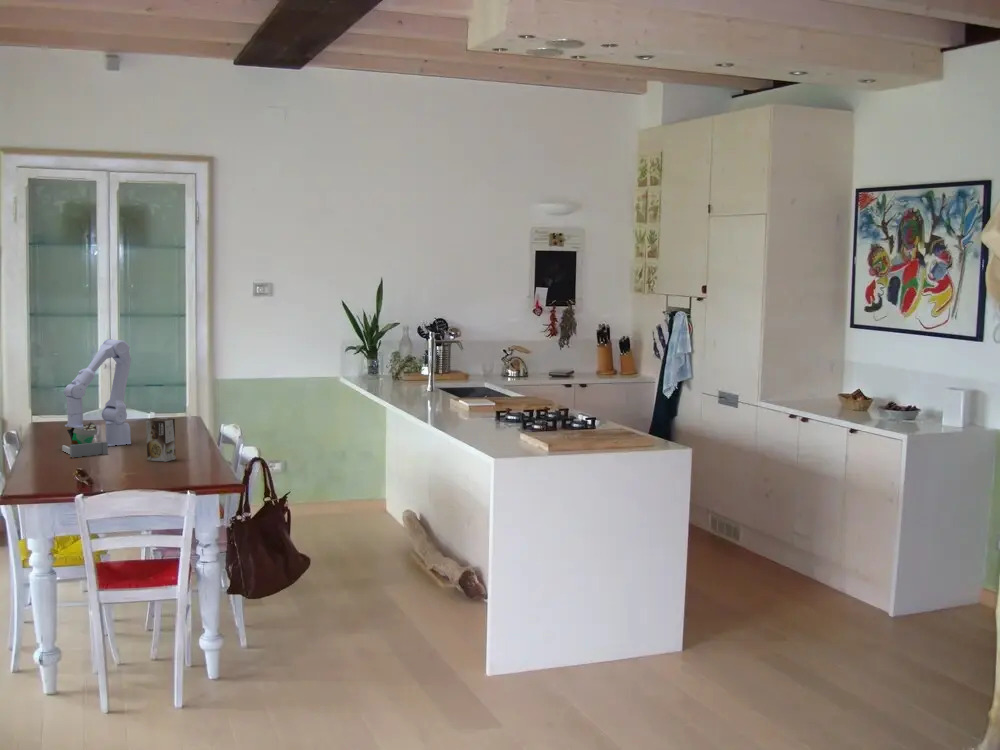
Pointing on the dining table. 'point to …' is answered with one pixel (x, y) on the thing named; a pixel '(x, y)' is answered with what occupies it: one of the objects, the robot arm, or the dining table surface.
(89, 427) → the food container
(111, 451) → the dining table surface
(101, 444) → the grey flat tray
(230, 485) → the dining table surface
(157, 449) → the coffee box
